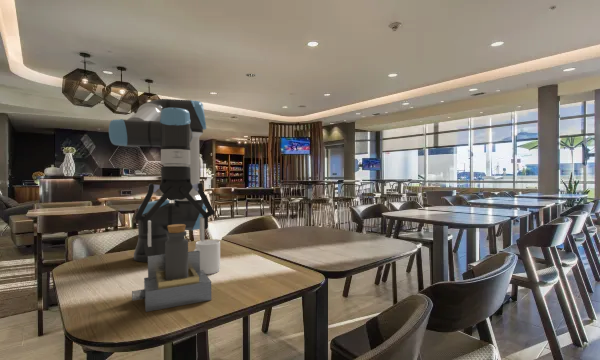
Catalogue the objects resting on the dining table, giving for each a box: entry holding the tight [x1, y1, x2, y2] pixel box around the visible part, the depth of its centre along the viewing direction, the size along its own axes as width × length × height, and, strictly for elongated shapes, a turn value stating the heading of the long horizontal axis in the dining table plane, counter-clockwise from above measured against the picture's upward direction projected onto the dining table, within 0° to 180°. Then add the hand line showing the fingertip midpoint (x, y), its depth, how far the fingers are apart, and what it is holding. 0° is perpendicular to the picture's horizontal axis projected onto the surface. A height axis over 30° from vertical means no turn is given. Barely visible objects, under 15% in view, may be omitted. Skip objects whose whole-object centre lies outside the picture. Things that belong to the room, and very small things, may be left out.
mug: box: [193, 239, 221, 276], centre depth 111 cm, size 12×8×10 cm
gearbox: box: [131, 250, 212, 313], centre depth 87 cm, size 12×19×11 cm, turn 117°
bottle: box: [165, 224, 189, 280], centre depth 88 cm, size 6×6×15 cm
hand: (176, 243), depth 88 cm, fingers open, 13 cm apart
